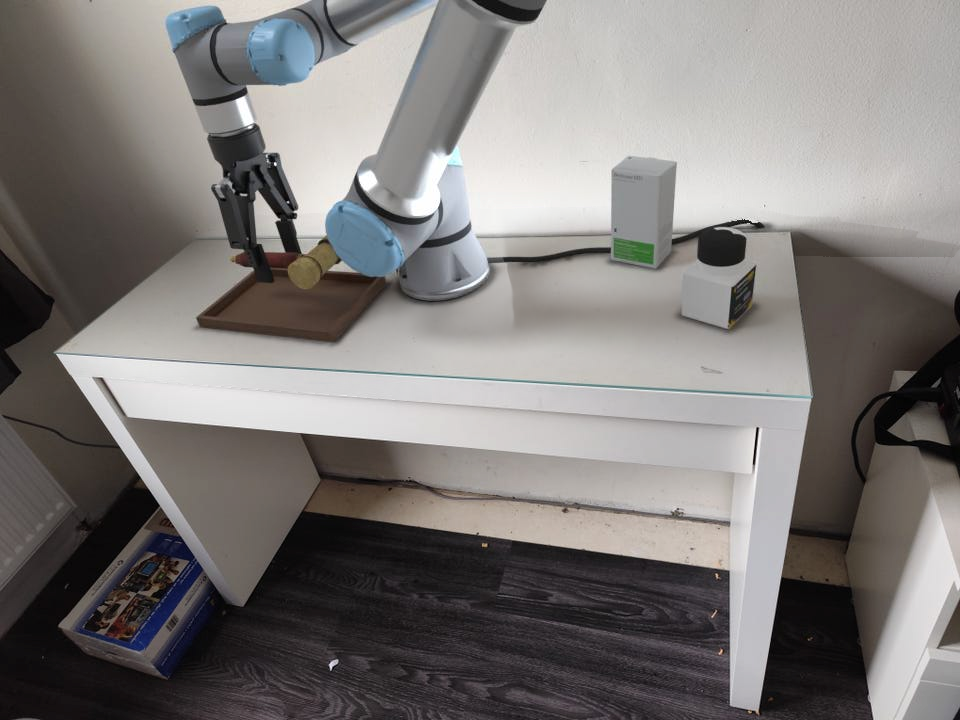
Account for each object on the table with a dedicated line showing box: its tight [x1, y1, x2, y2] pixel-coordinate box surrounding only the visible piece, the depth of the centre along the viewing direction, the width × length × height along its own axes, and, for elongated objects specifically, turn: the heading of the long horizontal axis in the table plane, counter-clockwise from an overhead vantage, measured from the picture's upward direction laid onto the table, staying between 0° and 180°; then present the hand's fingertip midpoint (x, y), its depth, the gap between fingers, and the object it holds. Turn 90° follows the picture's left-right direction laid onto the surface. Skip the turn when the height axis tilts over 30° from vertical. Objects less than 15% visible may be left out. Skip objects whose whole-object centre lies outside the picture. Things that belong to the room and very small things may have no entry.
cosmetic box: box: [610, 155, 678, 270], centre depth 105 cm, size 8×7×16 cm
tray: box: [195, 268, 388, 343], centre depth 113 cm, size 27×18×2 cm, turn 69°
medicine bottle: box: [681, 227, 757, 330], centre depth 91 cm, size 7×7×12 cm
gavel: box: [229, 235, 343, 289], centre depth 108 cm, size 21×5×10 cm
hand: (281, 268), depth 109 cm, fingers closed on gavel, 7 cm apart
